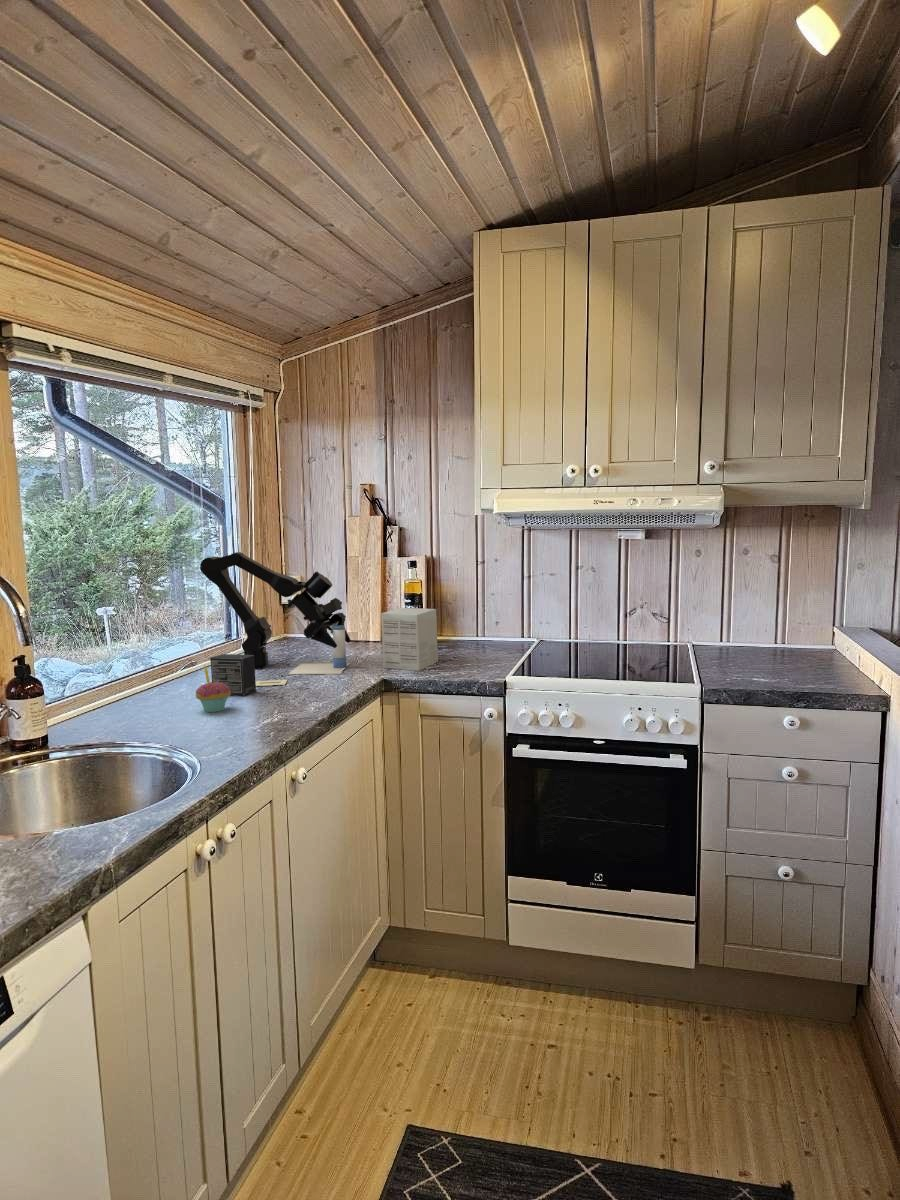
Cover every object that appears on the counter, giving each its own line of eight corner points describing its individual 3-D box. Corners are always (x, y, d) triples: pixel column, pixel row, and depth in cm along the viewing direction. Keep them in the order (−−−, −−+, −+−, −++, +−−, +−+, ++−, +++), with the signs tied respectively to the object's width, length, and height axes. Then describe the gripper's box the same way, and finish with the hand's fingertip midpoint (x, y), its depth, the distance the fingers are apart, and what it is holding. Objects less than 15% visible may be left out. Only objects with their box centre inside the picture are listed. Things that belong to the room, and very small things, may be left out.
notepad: (288, 674, 237) (288, 673, 237) (302, 664, 253) (302, 662, 253) (340, 674, 236) (340, 672, 236) (350, 663, 252) (350, 661, 252)
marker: (334, 668, 243) (332, 627, 241) (332, 666, 247) (330, 625, 245) (347, 667, 244) (346, 626, 242) (345, 665, 248) (344, 624, 246)
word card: (252, 687, 222) (252, 685, 222) (255, 682, 228) (255, 680, 228) (285, 685, 223) (284, 684, 223) (287, 681, 229) (287, 679, 229)
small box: (257, 691, 218) (255, 654, 216) (244, 696, 212) (242, 658, 210) (225, 689, 221) (223, 652, 220) (211, 694, 215) (208, 657, 214)
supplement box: (402, 660, 255) (400, 607, 253) (438, 662, 250) (437, 608, 248) (382, 668, 244) (380, 612, 241) (419, 671, 238) (417, 614, 236)
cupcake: (212, 715, 193) (209, 668, 191) (189, 711, 197) (186, 665, 196) (238, 707, 200) (235, 661, 198) (215, 704, 204) (212, 659, 203)
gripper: (310, 594, 235) (345, 631, 233) (339, 587, 252) (371, 622, 250) (289, 619, 238) (322, 656, 236) (318, 611, 256) (350, 645, 254)
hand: (343, 644), depth 244 cm, fingers open, 9 cm apart
